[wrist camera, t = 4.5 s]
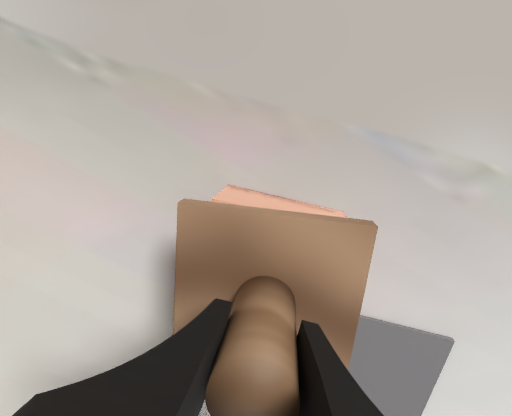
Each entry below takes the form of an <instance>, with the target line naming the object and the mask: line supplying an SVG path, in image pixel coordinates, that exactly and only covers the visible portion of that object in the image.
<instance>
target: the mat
mask: <svg viewBox="0 0 512 416" xmlns="http://www.w3.org/2000/svg"><path fill="white" fill-rule="evenodd" d="M454 342H455V341H454V340H453V338H450V337H446V336H442V335H438V334H434V333H430V332H426V331H422V330H418V329H414V328H410V327H406V326H402V325H398V324H394V323H390V322H386V321H382V320H378V319H374V318H370V317H366V316H362V315H360V316H359V321H358V326H357V330H356V335H355V340H354V345H353V350H352V355H351V360H350V364H349V369H348V371H349V373H350V374H351V375H352V377H353V378H354V379H355V381H356V382H357V383H358V385H359V386H360V387H361V389H362V390H363V391H364V393H365V394H366V395H367V396H368V398H369V399H370V400H371V401H372V402H373V403H374V405H375V406H376V407H377V408H378V409H379V410H380V411H381V413H382V414H383V415H384V416H421V415H422V412H423V410H424V408H425V406H426V404H427V401H428V399H429V397H430V395H431V393H432V390H433V388H434V386H435V384H436V382H437V379H438V377H439V375H440V373H441V371H442V368H443V366H444V364H445V362H446V360H447V357H448V355H449V353H450V351H451V348H452V346H453V344H454Z"/></svg>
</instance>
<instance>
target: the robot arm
mask: <svg viewBox="0 0 512 416" xmlns="http://www.w3.org/2000/svg"><path fill="white" fill-rule="evenodd" d="M231 306H232V302H230V301H226V300H222V299H218V298H216V299H214V300H213V301H212V302H211V303H210V304H209V305H208V306H207V307H206V308H205V309H204V310H203V311H202V312H201V313H200V314H199V315H197V316H196V317H195V318H194V319H193V320H192V321H190V322H189V323H188V324H187V325H186V326H184V327H183V328H182V329H180V330H179V331H178V332H176V333H175V334H174V335H172V336H171V337H169V338H168V339H167V340H165V341H164V342H162V343H161V344H159V345H157V346H156V347H154V348H152V349H151V350H149V351H147V352H146V353H144V354H142V355H140V356H138V357H136V358H134V359H132V360H131V361H129V362H126V363H124V364H122V365H120V366H118V367H116V368H114V369H111V370H109V371H106V372H104V373H101V374H99V375H96V376H93V377H91V378H88V379H85V380H83V381H80V382H77V383H73V384H70V385H67V386H64V387H60V388H57V389H54V390H50V391H47V392H44V393H40V394H36V395H35V396H34V397H33V398H32V399H31V400H29V401H28V402H27V403H26V404H25V405H24V406H22V407H21V408H20V409H19V410H18V411H17V412H16V413H15V414H13V415H12V416H198V415H199V412H200V410H201V407H202V405H203V402H204V400H205V394H206V389H207V385H208V382H209V379H210V376H211V373H212V370H213V366H214V363H215V360H216V357H217V354H218V351H219V347H220V344H221V341H222V339H223V336H224V332H225V329H226V326H227V323H228V320H229V315H230V311H231ZM297 352H298V376H299V399H300V409H299V414H298V416H384V415H383V414H382V413H381V411H380V410H379V409H378V408H377V407H376V406H375V405H374V403H373V402H372V401H371V400H370V399H369V398H368V396H367V395H366V394H365V393H364V391H363V390H362V389H361V387H360V386H359V385H358V383H357V382H356V381H355V379H354V378H353V377H352V375H351V374H350V373H349V371H348V370H347V368H346V367H345V365H344V364H343V363H342V361H341V360H340V358H339V356H338V355H337V353H336V352H335V350H334V349H333V347H332V345H331V344H330V342H329V341H328V339H327V337H326V336H325V334H324V332H323V331H322V329H321V327H320V326H319V324H317V323H313V322H309V321H305V320H302V321H301V324H300V328H299V331H298V334H297Z"/></svg>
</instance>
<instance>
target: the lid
mask: <svg viewBox="0 0 512 416" xmlns="http://www.w3.org/2000/svg"><path fill="white" fill-rule="evenodd" d="M377 229H378V226H377V225H376V224H375V223H374V222H373V221H368V220H360V219H352V218H343V217H335V216H326V215H318V214H309V213H301V212H293V211H284V210H276V209H267V208H259V207H250V206H242V205H233V204H225V203H217V202H208V201H200V200H191V199H183V200H181V201H180V202H178V208H177V239H176V270H175V301H174V332H173V335H174V334H175V333H176V332H178V331H179V330H180V329H182V328H183V327H184V326H186V325H187V324H188V323H189V322H190V321H192V320H193V319H194V318H195V317H196V316H197V315H199V314H200V313H201V312H202V311H203V310H204V309H205V308H206V307H207V306H208V305H209V304H210V303H211V302H212V301H213V300H214V299H216V298H218V299H222V300H226V301H230V302H232V306H231V311H230V315H229V320H228V323H227V326H226V329H225V332H224V336H223V339H222V341H221V344H220V347H219V351H218V354H217V357H216V360H215V363H214V366H213V370H212V373H211V376H210V379H209V382H208V385H207V389H206V394H205V401H206V406H207V409H208V411H209V413H210V415H211V416H298V414H299V409H300V399H299V376H298V352H297V334H298V331H299V328H300V324H301V321H302V320H305V321H309V322H313V323H317V324H319V326H320V327H321V329H322V331H323V332H324V334H325V336H326V337H327V339H328V341H329V342H330V344H331V345H332V347H333V349H334V350H335V352H336V353H337V355H338V356H339V358H340V360H341V361H342V363H343V364H344V365H345V367H346V368H347V370H348V369H349V364H350V360H351V355H352V350H353V345H354V340H355V335H356V330H357V326H358V321H359V316H360V311H361V306H362V301H363V297H364V292H365V287H366V282H367V277H368V272H369V268H370V263H371V258H372V253H373V248H374V243H375V238H376V234H377Z"/></svg>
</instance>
